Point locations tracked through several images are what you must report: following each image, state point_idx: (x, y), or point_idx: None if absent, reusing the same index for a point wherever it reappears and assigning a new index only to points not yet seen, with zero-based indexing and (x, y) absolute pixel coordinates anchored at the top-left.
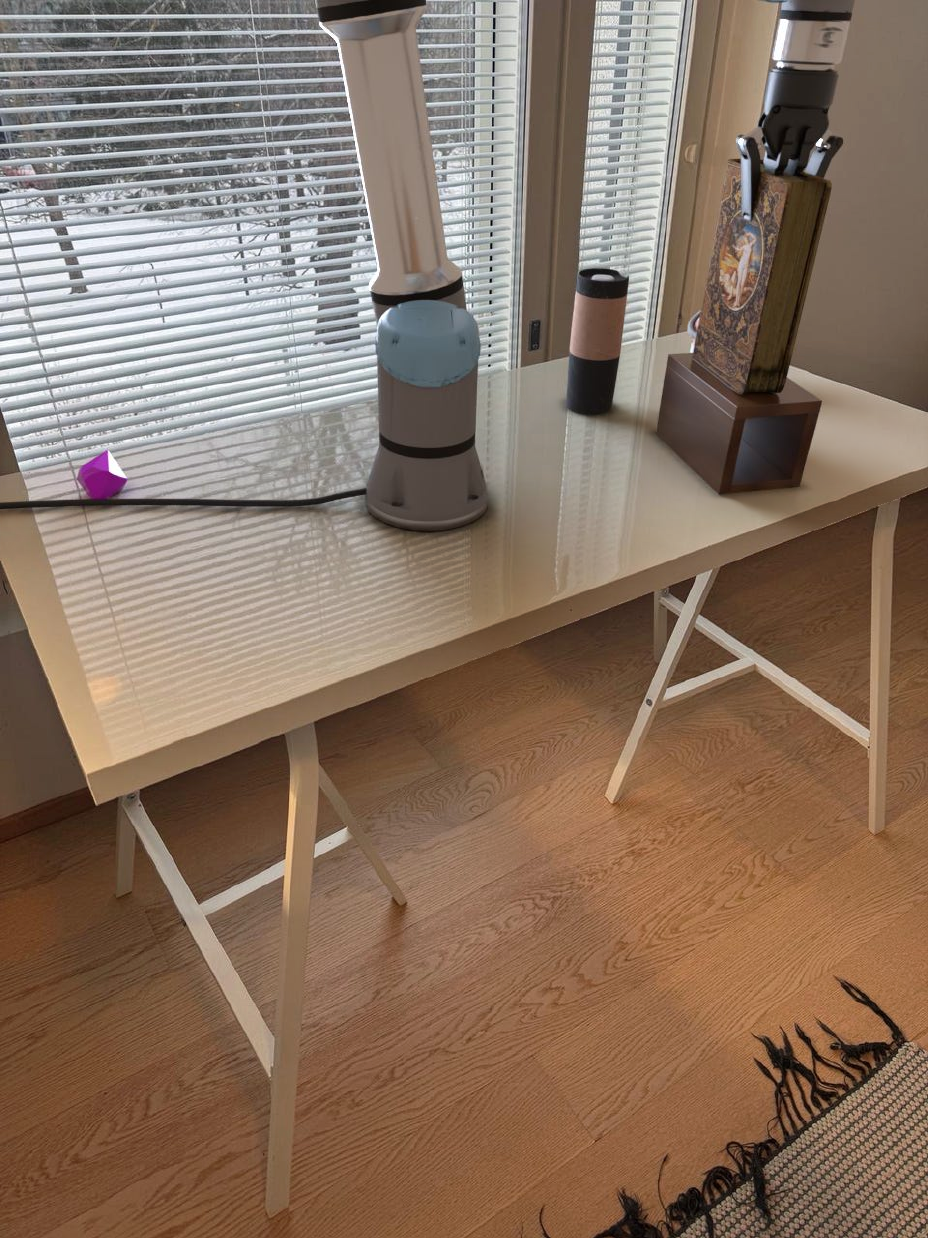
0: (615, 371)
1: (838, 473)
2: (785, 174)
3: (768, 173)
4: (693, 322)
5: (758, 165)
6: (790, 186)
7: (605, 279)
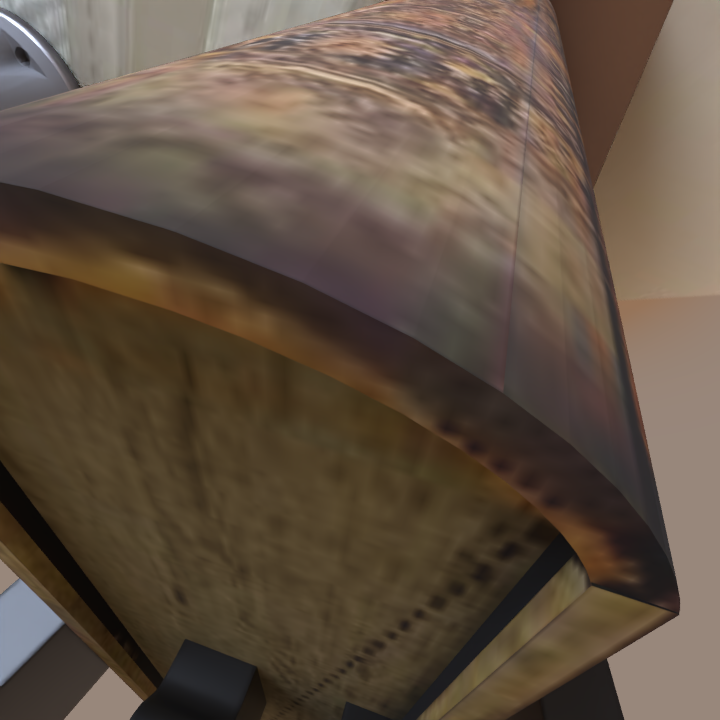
0: None
1: (639, 251)
2: (309, 707)
3: (141, 689)
4: None
5: (62, 700)
6: None
7: None
